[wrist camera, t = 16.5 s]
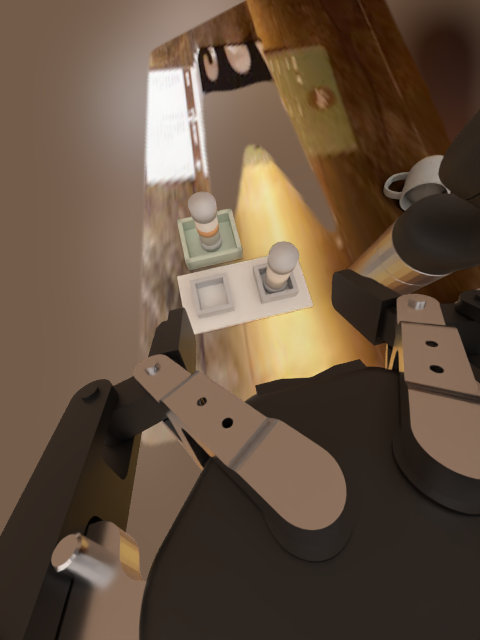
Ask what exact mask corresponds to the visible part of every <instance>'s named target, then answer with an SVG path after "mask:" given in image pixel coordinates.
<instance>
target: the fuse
mask: <svg viewBox="0 0 480 640" xmlns="http://www.w3.org/2000/svg"><path fill="white" fill-rule="evenodd" d="M298 260H299V252H298V250H297V248H296V247H295V246H294V245H293V244H291V243H289V242H278V243H276V244H274V245H273V246H272V247H271V249H270V251H269V256H268V266H267V270H266V273H265V275H264V279H263V287H264V289H265V291H266V292H268V293H269V294H272V293H276V292H280V291H283V290H284V288H285V286H286V284H287V280H288V278H289V276H290V273H291V272H292V271H293V270H294V268H295V266H296V264H297V262H298Z"/></svg>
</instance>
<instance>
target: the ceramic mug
mask: <svg viewBox="0 0 480 640" xmlns="http://www.w3.org/2000/svg"><path fill="white" fill-rule="evenodd" d="M443 157H444V156H442V155H433V156H429V157H426V158H424V159H422V160H420V161H419V162H418V163H416V164H415V165H414V166H413V168H412V169H411V170H410V172H405V173H399V174H395V175H393V176H391V177H390V178H389V179H388V180H387V181H386V183H385V185H384V191H383V192H384V194H385V195H386V196H387V197H388V198H392V199H400V200H399V203H400V206H401V208H402V209H403V210H404V211H406V210H407V209H408V208H409V207H410V206H411V205H412V204H414V203H415V202H417V201H418V200H420V199H422V198H424V197H427V196H430V195H434V194H447V193H448V194H450V190H448V189H447V188H446V187H445V186H444V185H443V184H442V183H441V181H440V179H439V175H438V172H439V167H440V163H441V161H442V159H443ZM404 179H406V181H405V185H404V188H403V190H402V192H395V191H391V190H389V189H388V187H389V185H391V183H392V182H394V181H397V180H404Z"/></svg>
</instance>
